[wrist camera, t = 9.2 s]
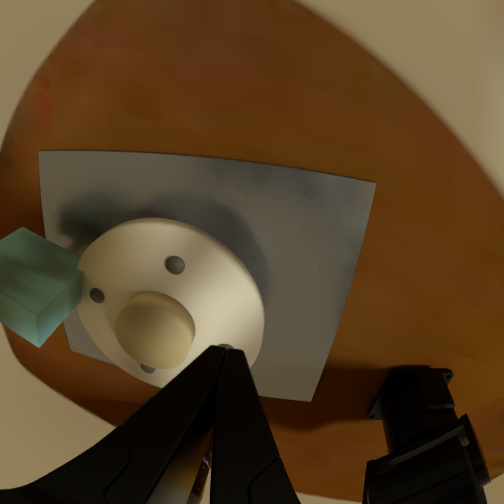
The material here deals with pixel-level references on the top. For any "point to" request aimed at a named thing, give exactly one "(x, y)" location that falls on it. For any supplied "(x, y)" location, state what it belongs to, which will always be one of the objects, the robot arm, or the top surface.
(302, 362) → the base
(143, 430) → the robot arm
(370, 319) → the top surface
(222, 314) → the flange
